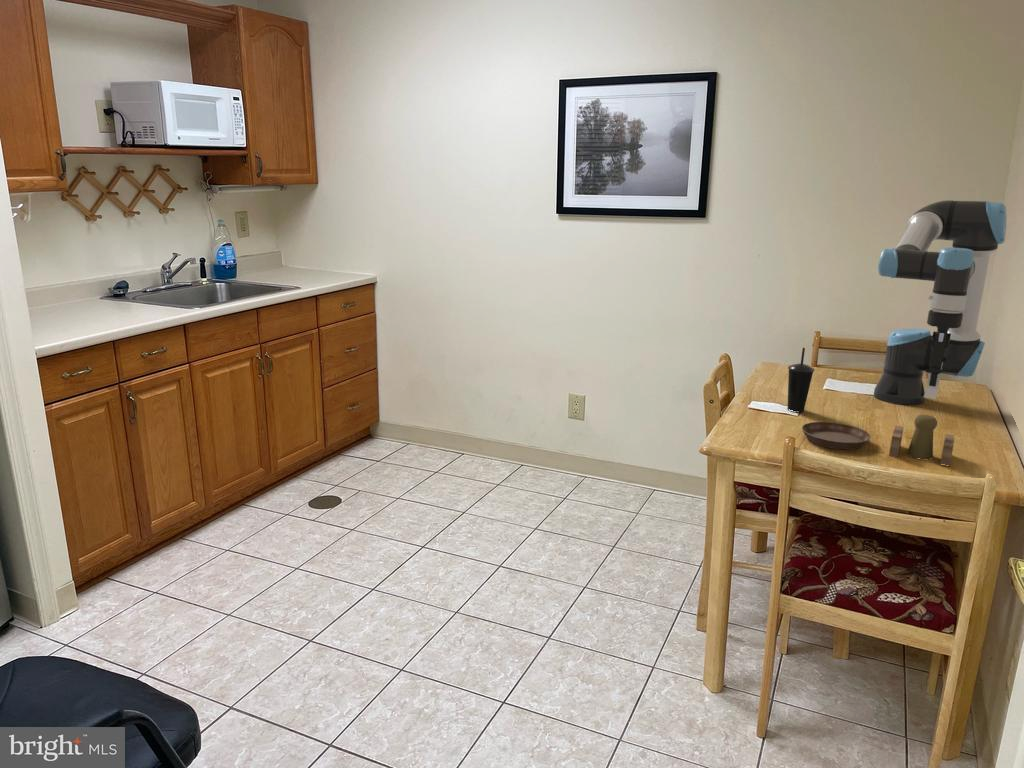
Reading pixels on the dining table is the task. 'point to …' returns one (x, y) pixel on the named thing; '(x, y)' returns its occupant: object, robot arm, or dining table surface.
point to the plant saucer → (835, 435)
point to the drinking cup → (799, 384)
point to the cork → (923, 437)
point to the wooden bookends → (945, 452)
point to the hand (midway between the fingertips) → (931, 391)
